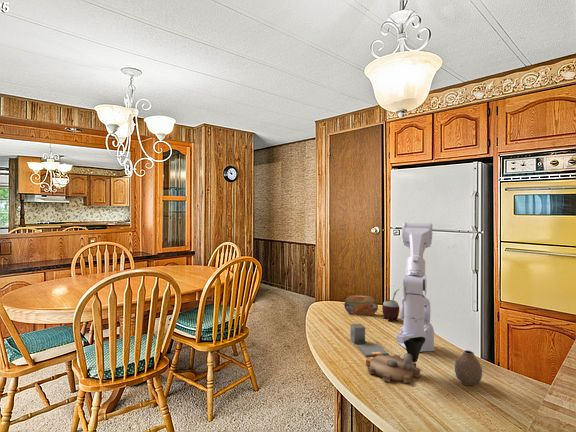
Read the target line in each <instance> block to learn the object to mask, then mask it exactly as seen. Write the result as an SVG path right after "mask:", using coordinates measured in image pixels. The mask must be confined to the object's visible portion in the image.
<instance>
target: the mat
mask: <svg viewBox="0 0 576 432" xmlns="http://www.w3.org/2000/svg"><path fill="white" fill-rule="evenodd" d="M356 348H357V349H358V350H359V351H360V352H361V353H362V355H364V356H365V358H369V357H376V354H382V355H389V352H388V351H387V350H386V349H385V348H384V347H382V346H381V345H380V344H379V343H367V344H366V343H365V344H356ZM389 356H390V355H389Z"/></svg>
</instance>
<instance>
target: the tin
mask: <svg viewBox="0 0 576 432" xmlns="http://www.w3.org/2000/svg"><path fill="white" fill-rule="evenodd" d="M343 307H344V309H345V311H346V312H347V313H348V314H349V315H354V314H360V315H361V316H372V315H374V314H376V313H377V311H378V310H379V304H378V301H377V300H376V299H375V298H374V297H372V296H370V295H349V296H348V297H347V298H346V299H345V300H344V306H343ZM360 315H359V316H360Z"/></svg>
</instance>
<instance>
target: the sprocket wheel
mask: <svg viewBox="0 0 576 432" xmlns="http://www.w3.org/2000/svg"><path fill="white" fill-rule="evenodd" d="M365 365H367V373H369V374H370V375H374V374H375V375H376V376H378V377H380V378H382V381H385V382H388V383H389V382H390V381H401V382H403V383H405V384H407V383H411V382H412V379H413V378H414V377H416V378H420V376H421V369H418V368H417V362H412V355H411V354H407V353H404V354H403V358H402V357H401V355H399V354H394V355H382V354H376V356H373V357H372V358H369V357H366V359H365Z"/></svg>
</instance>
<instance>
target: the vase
mask: <svg viewBox="0 0 576 432" xmlns="http://www.w3.org/2000/svg"><path fill="white" fill-rule="evenodd" d="M454 374H455V376H456V378H457V379H458V381H459V382H460V383H461V384H463V385H465V386H469V387H474V386H476V385H478V384H479V383H480V382H481V380H482V378H483V369H482V364H481V363H480V361H479V360H478V358H477V357H476V355H475V353H474V352H473V351H472V350H468V349H467V350H463V352H462V354H461V355H459V356H458V357H457V358H456V361H455V363H454Z"/></svg>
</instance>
